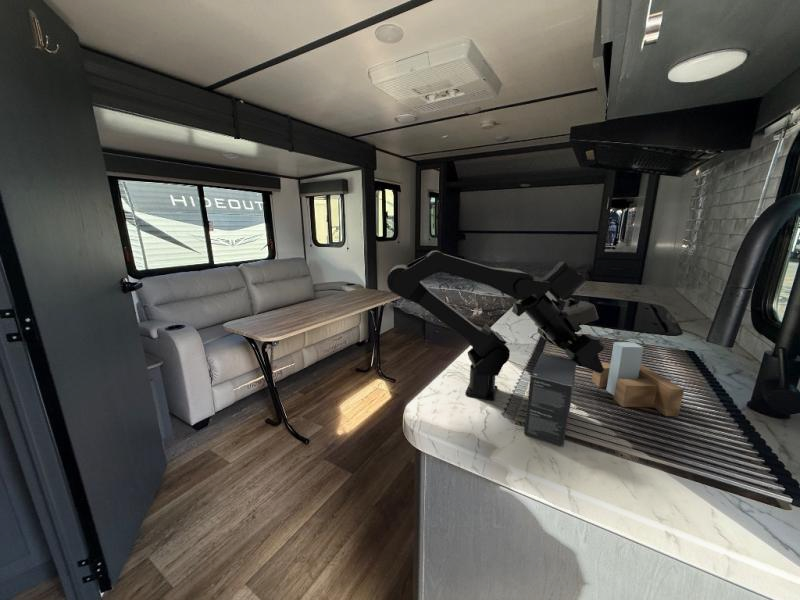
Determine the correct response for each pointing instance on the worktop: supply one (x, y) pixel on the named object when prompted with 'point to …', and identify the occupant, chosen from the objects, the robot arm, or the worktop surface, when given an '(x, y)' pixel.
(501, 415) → the worktop surface
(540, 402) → the small box
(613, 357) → the post
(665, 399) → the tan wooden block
